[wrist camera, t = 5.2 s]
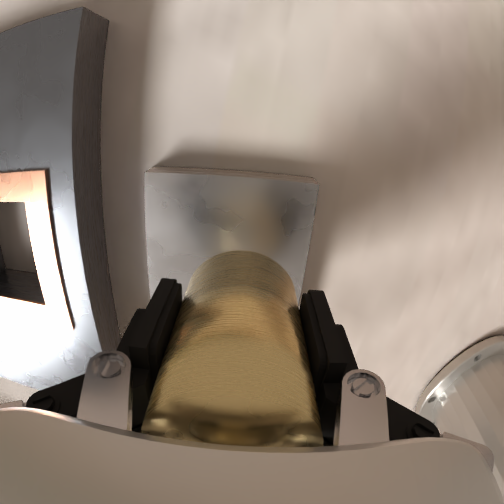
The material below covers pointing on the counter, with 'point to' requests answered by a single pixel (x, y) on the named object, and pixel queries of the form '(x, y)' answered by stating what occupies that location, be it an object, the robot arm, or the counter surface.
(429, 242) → the counter surface
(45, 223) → the plate
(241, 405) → the barrel peg
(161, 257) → the gray square slab
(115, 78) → the counter surface
